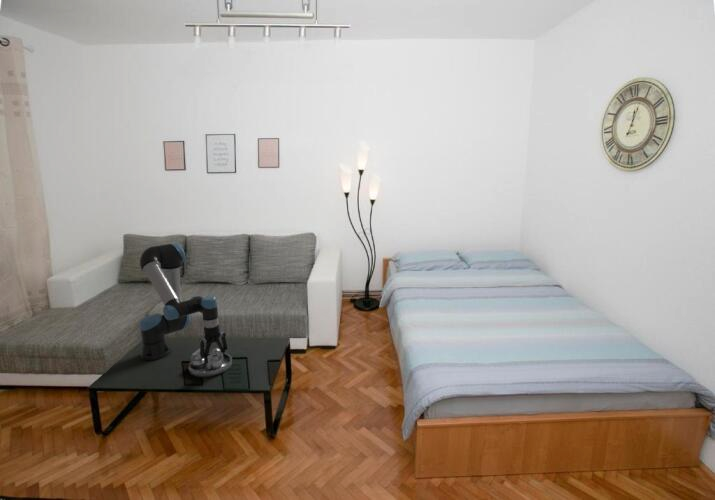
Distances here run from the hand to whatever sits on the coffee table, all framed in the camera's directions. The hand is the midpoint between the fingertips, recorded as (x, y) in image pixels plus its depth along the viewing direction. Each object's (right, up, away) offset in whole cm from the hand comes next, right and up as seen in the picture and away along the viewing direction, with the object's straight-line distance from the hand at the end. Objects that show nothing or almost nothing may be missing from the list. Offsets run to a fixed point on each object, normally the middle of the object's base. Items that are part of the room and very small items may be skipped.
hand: (215, 365), depth 212 cm
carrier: (-4, -2, +5) cm, 7 cm away
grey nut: (0, 0, 0) cm, 0 cm away
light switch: (-12, -2, +8) cm, 14 cm away
